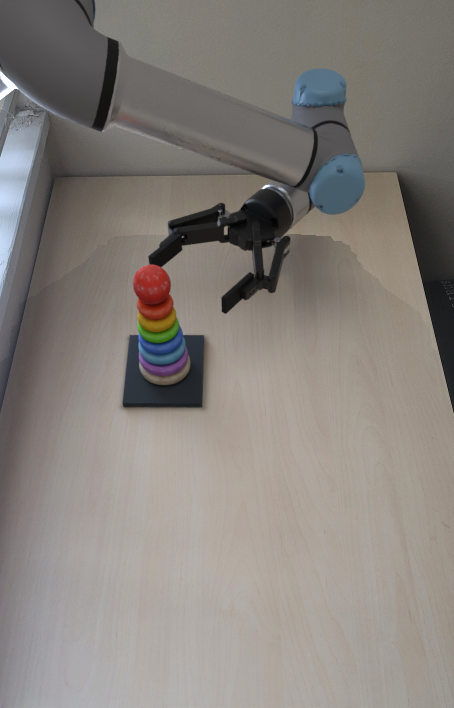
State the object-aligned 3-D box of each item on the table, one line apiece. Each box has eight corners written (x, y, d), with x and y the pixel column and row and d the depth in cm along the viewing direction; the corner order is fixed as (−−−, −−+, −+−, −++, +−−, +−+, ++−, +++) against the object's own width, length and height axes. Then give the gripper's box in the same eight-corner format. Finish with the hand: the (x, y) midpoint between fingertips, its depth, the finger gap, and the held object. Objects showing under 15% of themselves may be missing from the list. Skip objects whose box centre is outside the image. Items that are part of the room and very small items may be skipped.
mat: (123, 407, 97) (122, 403, 96) (130, 339, 104) (129, 334, 103) (202, 407, 97) (201, 403, 96) (204, 339, 104) (203, 334, 103)
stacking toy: (186, 346, 102) (179, 246, 86) (194, 384, 98) (187, 287, 82) (137, 352, 101) (120, 253, 85) (143, 391, 97) (125, 295, 81)
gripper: (337, 263, 99) (254, 343, 91) (212, 201, 107) (126, 269, 99) (344, 221, 93) (256, 303, 85) (211, 157, 101) (119, 226, 92)
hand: (186, 285), depth 92 cm, fingers open, 13 cm apart
